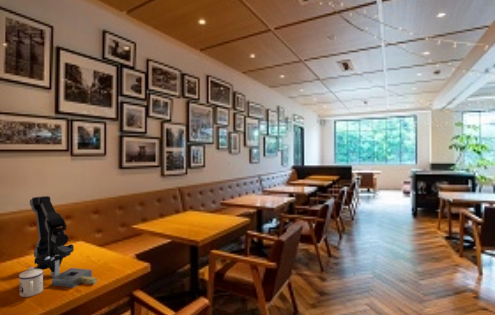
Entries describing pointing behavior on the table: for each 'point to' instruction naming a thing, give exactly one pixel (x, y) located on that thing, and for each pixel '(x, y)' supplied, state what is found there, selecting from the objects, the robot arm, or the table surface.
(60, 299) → the table surface
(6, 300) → the table surface
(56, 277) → the grey slotted block
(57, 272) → the wedge pin
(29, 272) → the teacup with lid
